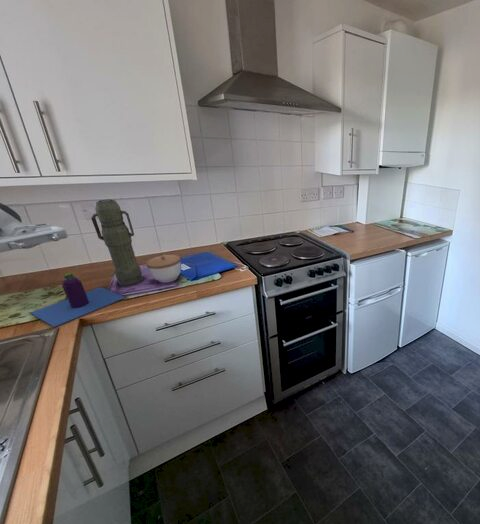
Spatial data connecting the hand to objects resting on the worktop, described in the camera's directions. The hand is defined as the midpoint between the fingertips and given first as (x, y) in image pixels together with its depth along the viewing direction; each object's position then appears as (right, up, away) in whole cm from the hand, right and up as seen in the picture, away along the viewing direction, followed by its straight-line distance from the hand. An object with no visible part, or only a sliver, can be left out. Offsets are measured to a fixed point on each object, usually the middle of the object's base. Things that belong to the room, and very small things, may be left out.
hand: (39, 242), depth 108 cm
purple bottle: (+12, -23, +3) cm, 26 cm away
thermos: (+17, -16, +22) cm, 32 cm away
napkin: (+12, -23, +3) cm, 26 cm away
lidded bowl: (+32, -15, +24) cm, 43 cm away
